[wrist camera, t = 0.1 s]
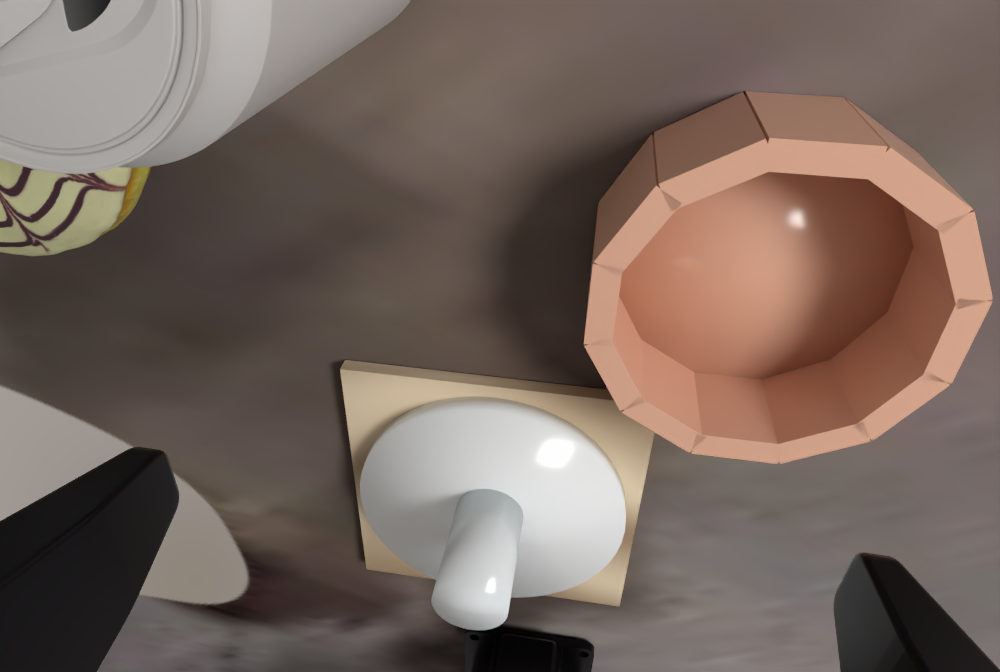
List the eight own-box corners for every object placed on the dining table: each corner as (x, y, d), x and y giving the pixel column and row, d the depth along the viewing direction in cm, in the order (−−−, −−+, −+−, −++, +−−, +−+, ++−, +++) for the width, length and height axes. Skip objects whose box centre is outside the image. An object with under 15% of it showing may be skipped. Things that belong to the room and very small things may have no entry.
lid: (609, 598, 32) (606, 711, 27) (375, 563, 33) (338, 667, 29) (643, 414, 26) (646, 524, 21) (354, 380, 27) (302, 478, 22)
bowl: (866, 396, 24) (903, 479, 21) (580, 364, 25) (572, 439, 22) (987, 106, 19) (1063, 158, 15) (611, 82, 20) (608, 126, 16)
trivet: (619, 595, 32) (619, 606, 32) (370, 558, 34) (366, 569, 33) (659, 395, 26) (659, 405, 25) (345, 360, 27) (339, 369, 26)
